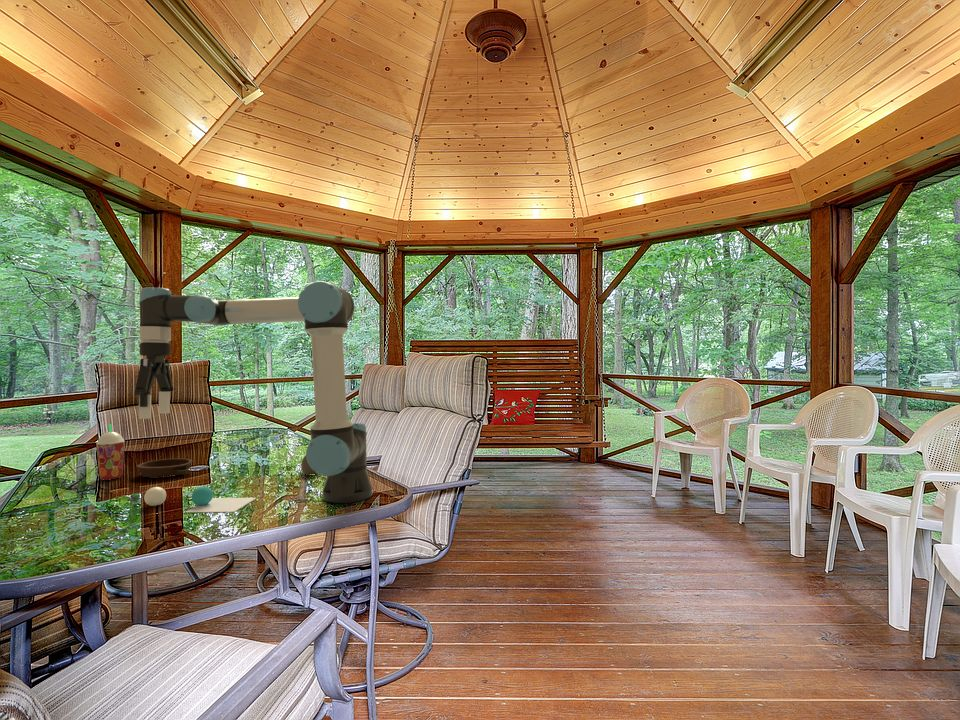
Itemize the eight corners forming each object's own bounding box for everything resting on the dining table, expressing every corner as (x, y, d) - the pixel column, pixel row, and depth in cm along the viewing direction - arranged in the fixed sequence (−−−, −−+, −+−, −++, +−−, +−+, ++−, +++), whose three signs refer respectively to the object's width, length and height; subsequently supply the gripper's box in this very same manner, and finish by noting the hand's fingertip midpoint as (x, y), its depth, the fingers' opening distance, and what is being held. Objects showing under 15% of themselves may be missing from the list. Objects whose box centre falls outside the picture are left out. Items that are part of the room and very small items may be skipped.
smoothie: (124, 475, 186) (123, 422, 186) (126, 479, 180) (125, 424, 180) (96, 478, 181) (95, 424, 181) (97, 483, 174) (96, 426, 174)
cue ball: (170, 502, 149) (170, 484, 149) (158, 508, 143) (158, 489, 143) (152, 503, 149) (152, 484, 149) (139, 508, 143) (139, 489, 143)
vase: (297, 476, 182) (297, 452, 181) (308, 472, 188) (307, 449, 188) (313, 477, 180) (313, 453, 180) (324, 473, 187) (324, 449, 187)
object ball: (216, 502, 149) (216, 484, 149) (206, 507, 143) (206, 489, 143) (198, 502, 149) (198, 484, 149) (187, 508, 143) (187, 489, 143)
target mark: (257, 498, 153) (257, 497, 153) (234, 512, 139) (234, 511, 139) (212, 498, 153) (212, 497, 153) (184, 512, 139) (184, 511, 139)
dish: (162, 483, 174) (162, 469, 174) (121, 478, 182) (121, 464, 182) (206, 472, 190) (206, 459, 190) (167, 468, 199) (167, 456, 199)
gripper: (158, 343, 153) (157, 411, 153) (119, 340, 128) (119, 421, 128) (185, 343, 154) (184, 411, 154) (152, 340, 130) (151, 421, 130)
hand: (155, 416), depth 141 cm, fingers open, 13 cm apart
